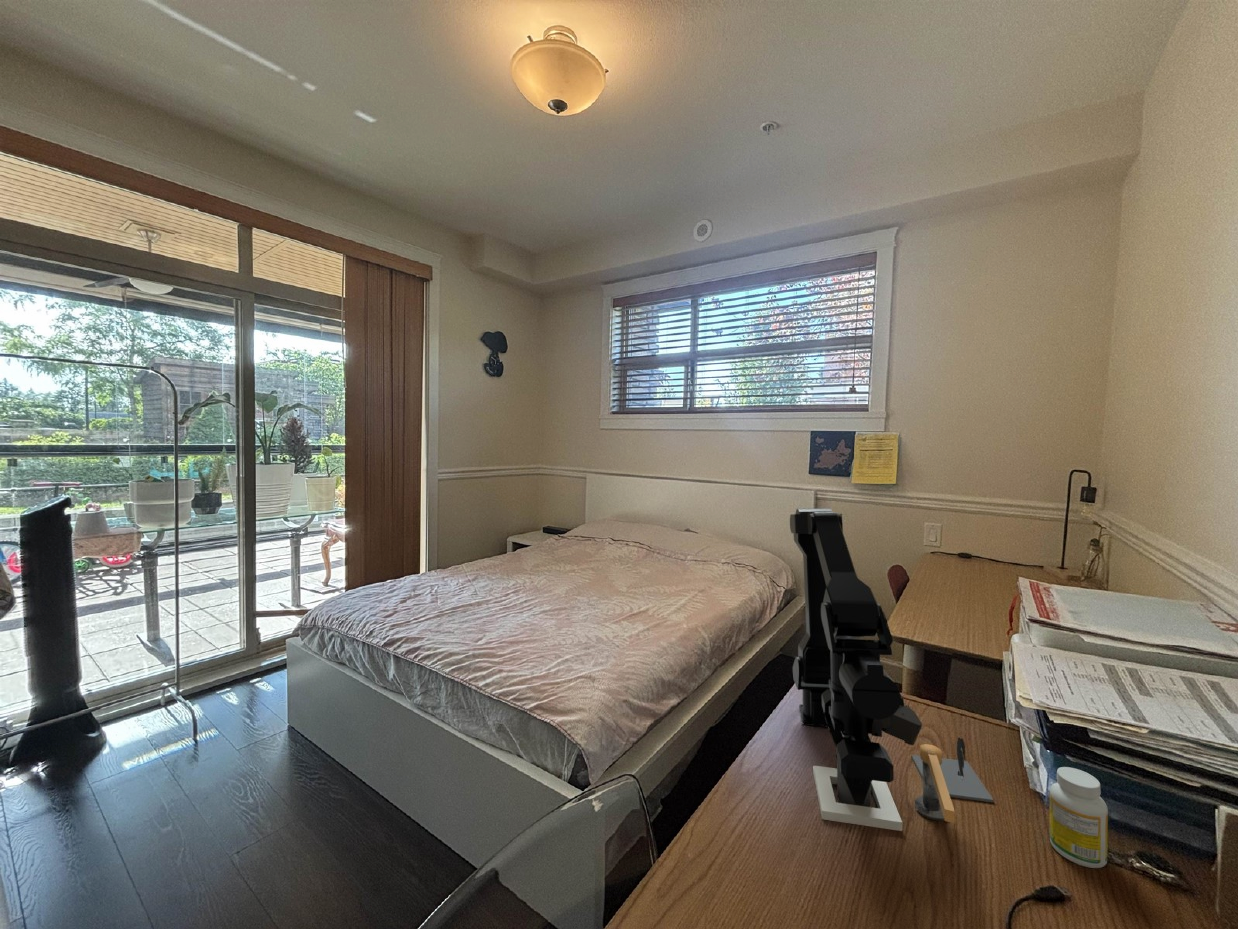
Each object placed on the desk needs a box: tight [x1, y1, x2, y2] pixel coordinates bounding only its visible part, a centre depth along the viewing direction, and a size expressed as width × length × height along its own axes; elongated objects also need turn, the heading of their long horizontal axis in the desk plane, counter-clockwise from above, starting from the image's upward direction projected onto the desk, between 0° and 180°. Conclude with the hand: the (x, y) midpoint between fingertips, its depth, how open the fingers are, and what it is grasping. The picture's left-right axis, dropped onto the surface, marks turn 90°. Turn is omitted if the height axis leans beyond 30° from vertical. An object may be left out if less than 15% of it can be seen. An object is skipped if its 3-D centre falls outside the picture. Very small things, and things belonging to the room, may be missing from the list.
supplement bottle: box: [1049, 766, 1109, 869], centre depth 62 cm, size 5×5×10 cm
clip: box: [919, 743, 956, 824], centre depth 65 cm, size 3×14×1 cm, turn 157°
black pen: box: [956, 737, 965, 780], centre depth 81 cm, size 12×1×1 cm, turn 146°
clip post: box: [914, 761, 945, 822], centre depth 70 cm, size 4×4×7 cm
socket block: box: [812, 765, 903, 832], centre depth 72 cm, size 10×10×1 cm
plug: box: [836, 761, 872, 807], centre depth 72 cm, size 4×4×6 cm
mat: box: [910, 754, 995, 803], centre depth 76 cm, size 9×8×1 cm
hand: (853, 787), depth 72 cm, fingers open, 7 cm apart
